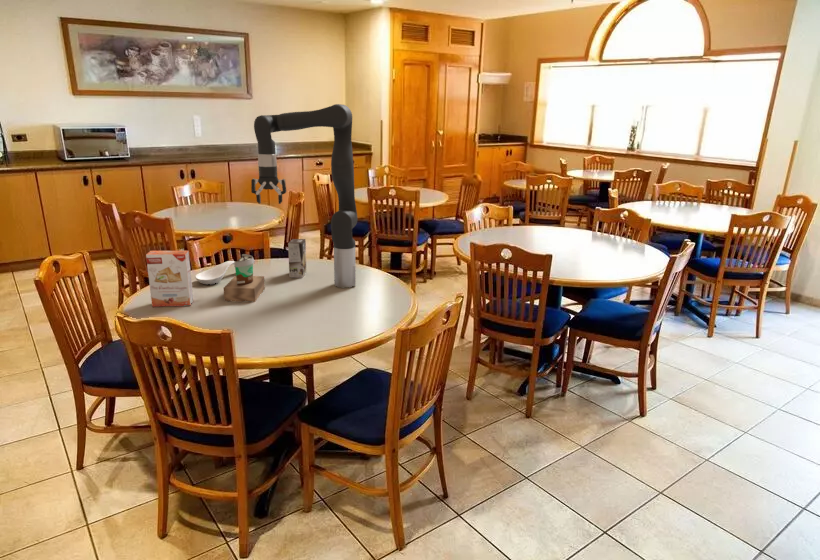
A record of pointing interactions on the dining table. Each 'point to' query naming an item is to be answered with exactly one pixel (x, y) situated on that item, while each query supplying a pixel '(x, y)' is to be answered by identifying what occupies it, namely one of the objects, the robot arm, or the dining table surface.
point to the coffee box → (297, 258)
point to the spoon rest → (213, 273)
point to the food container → (244, 269)
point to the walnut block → (244, 290)
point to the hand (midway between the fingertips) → (269, 203)
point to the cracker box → (169, 278)
